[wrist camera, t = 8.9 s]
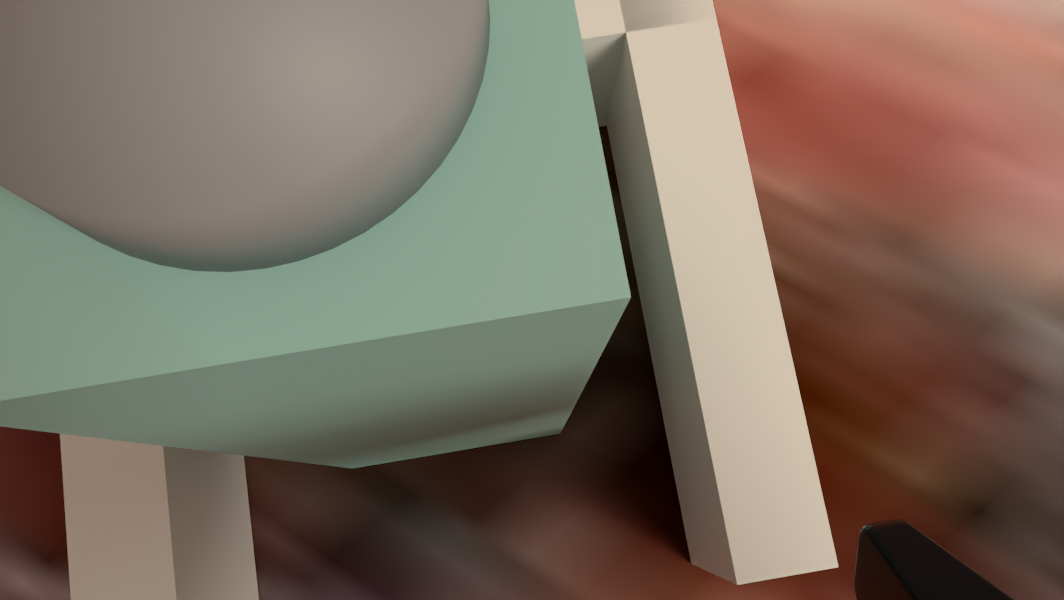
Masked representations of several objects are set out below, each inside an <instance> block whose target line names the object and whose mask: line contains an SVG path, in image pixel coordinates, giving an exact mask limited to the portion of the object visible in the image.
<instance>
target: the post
mask: <svg viewBox="0 0 1064 600" xmlns="http://www.w3.org/2000/svg"><path fill="white" fill-rule="evenodd" d="M630 299H631V294H630V289H629V283H628V278H627V273H626V268H625V263H624V257H623V252H622V247H621V242H620V236H619V231H618V226H617V221H616V216H615V210H614V205H613V200H612V195H611V190H610V184H609V179H608V174H607V169H606V163H605V158H604V153H603V148H602V143H601V137H600V132H599V127H598V122H597V116H596V111H595V106H594V101H593V96H592V90H591V85H590V80H589V75H588V69H587V64H586V59H585V54H584V49H583V43H582V38H581V33H580V28H579V23H578V17H577V12H576V7H575V2H574V0H0V427H9V428H17V429H26V430H34V431H42V432H51V433H59V434H68V435H76V436H84V437H93V438H101V439H109V440H118V441H126V442H135V443H143V444H151V445H160V446H168V447H177V448H185V449H193V450H202V451H210V452H218V453H227V454H235V455H244V456H252V457H260V458H269V459H277V460H286V461H294V462H302V463H311V464H319V465H327V466H336V467H344V468H359V467H365V466H371V465H377V464H383V463H389V462H394V461H400V460H406V459H412V458H418V457H424V456H430V455H436V454H442V453H448V452H454V451H460V450H466V449H472V448H478V447H484V446H489V445H495V444H501V443H507V442H513V441H519V440H525V439H531V438H537V437H543V436H549V435H555V434H560V433H561V431H562V430H563V428H564V426H565V424H566V422H567V420H568V418H569V416H570V414H571V412H572V410H573V408H574V406H575V404H576V403H577V401H578V399H579V397H580V395H581V393H582V391H583V389H584V387H585V385H586V383H587V381H588V379H589V378H590V376H591V374H592V372H593V370H594V368H595V366H596V364H597V362H598V360H599V358H600V356H601V354H602V352H603V351H604V349H605V347H606V345H607V343H608V341H609V339H610V337H611V335H612V333H613V331H614V329H615V327H616V326H617V324H618V322H619V320H620V318H621V316H622V314H623V312H624V310H625V308H626V306H627V304H628V302H629V301H630Z"/></svg>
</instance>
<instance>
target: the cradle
mask: <svg viewBox="0 0 1064 600" xmlns="http://www.w3.org/2000/svg"><path fill="white" fill-rule="evenodd" d="M574 2H575V7H576V12H577V17H578V23H579V28H580V33H581V38H582V43H583V49H584V54H585V59H586V64H587V69H588V75H589V80H590V85H591V90H592V96H593V101H594V106H595V111H596V116H597V122H598V127H602V126H607V130H608V135H609V140H610V146H611V151H612V156H613V161H614V166H615V172H616V177H617V182H618V187H619V192H620V197H621V203H622V208H623V213H624V218H625V223H626V228H627V234H628V239H629V244H630V249H631V254H632V260H633V265H634V270H635V275H636V280H637V285H638V291H639V296H640V301H641V306H642V311H643V317H644V322H645V327H646V332H647V337H648V342H649V348H650V353H651V358H652V363H653V368H654V373H655V379H656V384H657V389H658V394H659V399H660V405H661V410H662V415H663V420H664V425H665V430H666V436H667V441H668V446H669V451H670V456H671V461H672V467H673V472H674V477H675V482H676V487H677V493H678V498H679V503H680V508H681V513H682V518H683V524H684V529H685V534H686V539H687V544H688V549H689V555H690V560H691V564H693V565H695V566H697V567H699V568H702V569H704V570H706V571H708V572H710V573H712V574H715V575H717V576H719V577H721V578H723V579H725V580H728V581H730V582H732V583H734V584H736V585H740V584H746V583H751V582H757V581H763V580H769V579H774V578H780V577H786V576H792V575H797V574H803V573H809V572H814V571H820V570H826V569H832V568H837V567H839V566H838V562H837V557H836V553H835V548H834V544H833V539H832V535H831V530H830V526H829V521H828V517H827V513H826V508H825V504H824V499H823V495H822V490H821V486H820V481H819V477H818V472H817V468H816V463H815V459H814V454H813V450H812V445H811V441H810V436H809V432H808V427H807V423H806V418H805V414H804V409H803V405H802V400H801V396H800V391H799V387H798V382H797V378H796V373H795V369H794V365H793V360H792V356H791V351H790V347H789V342H788V338H787V333H786V329H785V324H784V320H783V315H782V311H781V306H780V302H779V297H778V293H777V288H776V284H775V279H774V275H773V270H772V266H771V261H770V257H769V252H768V248H767V243H766V239H765V234H764V230H763V225H762V221H761V216H760V212H759V208H758V203H757V199H756V194H755V190H754V185H753V181H752V176H751V172H750V167H749V163H748V158H747V154H746V149H745V145H744V140H743V136H742V131H741V127H740V122H739V118H738V113H737V109H736V104H735V100H734V95H733V91H732V86H731V82H730V77H729V73H728V68H727V64H726V59H725V55H724V51H723V46H722V42H721V37H720V33H719V28H718V24H717V19H716V15H715V10H714V6H713V1H712V0H574ZM60 445H61V460H62V475H63V490H64V505H65V520H66V535H67V550H68V565H69V580H70V595H71V600H259V596H258V586H257V577H256V567H255V558H254V548H253V539H252V529H251V520H250V510H249V500H248V491H247V481H246V472H245V462H244V455H235V454H227V453H218V452H210V451H202V450H193V449H185V448H177V447H168V446H160V445H151V444H143V443H135V442H126V441H118V440H109V439H101V438H93V437H84V436H76V435H68V434H60Z"/></svg>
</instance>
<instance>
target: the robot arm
mask: <svg viewBox="0 0 1064 600" xmlns="http://www.w3.org/2000/svg"><path fill="white" fill-rule="evenodd" d="M854 585H855V592H856V597H857V600H1015V599H1014V598H1012V597H1011V596H1010V595H1008V594H1007V593H1005V592H1004V591H1003V590H1001V589H1000V588H998V587H997V586H996V585H994V584H993V583H992V582H990V581H989V580H987V579H986V578H985V577H983V576H982V575H980V574H979V573H978V572H976V571H975V570H974V569H972V568H971V567H969V566H968V565H967V564H965V563H964V562H962V561H961V560H960V559H958V558H957V557H956V556H954V555H953V554H951V553H950V552H949V551H947V550H946V549H944V548H943V547H942V546H940V545H939V544H938V543H936V542H935V541H933V540H932V539H931V538H929V537H928V536H926V535H925V534H924V533H922V532H921V531H919V530H918V529H917V528H915V527H914V526H913V525H911V524H910V523H908V522H906V521H903V520H889V521H884V522H878V523H872V524H867V525H865V526H863V527H862V529H861V530H860V533H859V537H858V547H857V557H856V567H855V578H854Z"/></svg>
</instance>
